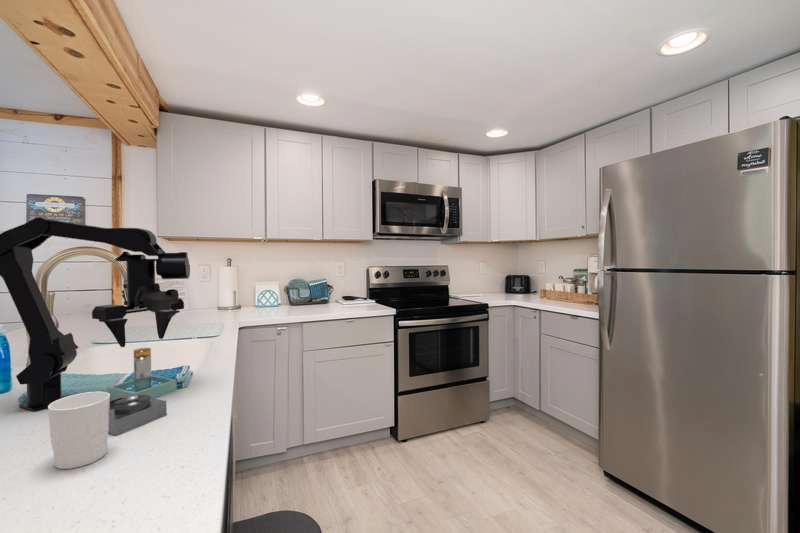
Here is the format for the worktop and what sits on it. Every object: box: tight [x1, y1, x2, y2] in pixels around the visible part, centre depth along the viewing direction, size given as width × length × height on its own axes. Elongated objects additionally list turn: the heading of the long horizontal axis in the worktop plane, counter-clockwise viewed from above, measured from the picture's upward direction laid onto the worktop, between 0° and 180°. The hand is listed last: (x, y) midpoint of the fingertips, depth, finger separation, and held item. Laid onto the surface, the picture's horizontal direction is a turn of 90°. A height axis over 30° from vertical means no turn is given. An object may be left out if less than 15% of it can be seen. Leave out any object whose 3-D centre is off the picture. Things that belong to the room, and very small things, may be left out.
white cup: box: [47, 391, 110, 470], centre depth 62 cm, size 8×8×10 cm
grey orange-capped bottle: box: [133, 347, 152, 392], centre depth 91 cm, size 4×4×10 cm
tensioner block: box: [108, 393, 168, 437], centre depth 77 cm, size 12×10×5 cm
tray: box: [106, 374, 178, 399], centre depth 91 cm, size 10×10×2 cm
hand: (142, 342), depth 91 cm, fingers open, 9 cm apart
